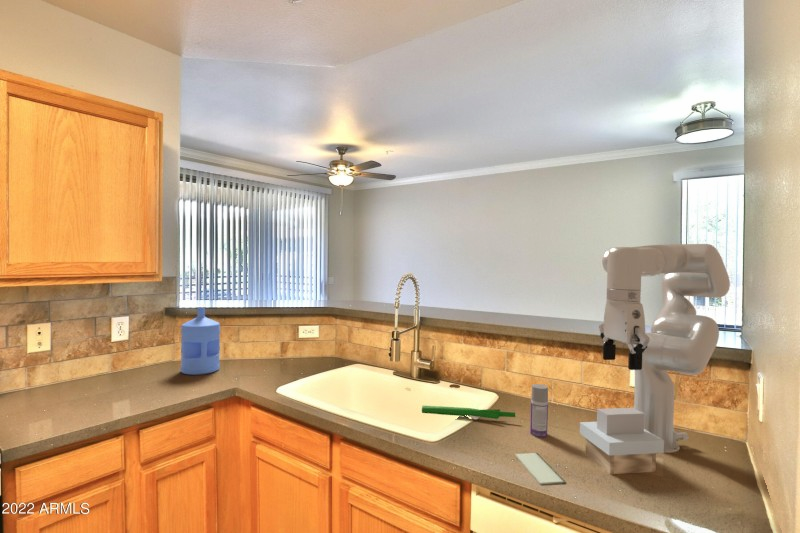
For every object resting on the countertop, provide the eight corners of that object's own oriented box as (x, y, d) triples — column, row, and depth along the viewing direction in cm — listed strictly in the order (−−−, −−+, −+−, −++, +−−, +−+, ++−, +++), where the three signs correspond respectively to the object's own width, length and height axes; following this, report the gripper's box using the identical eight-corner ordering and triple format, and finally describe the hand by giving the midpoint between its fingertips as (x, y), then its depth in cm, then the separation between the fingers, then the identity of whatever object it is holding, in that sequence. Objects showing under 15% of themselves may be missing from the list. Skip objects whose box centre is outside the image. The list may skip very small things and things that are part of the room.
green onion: (421, 417, 136) (515, 423, 127) (421, 407, 136) (515, 413, 127) (424, 412, 140) (515, 418, 132) (424, 402, 140) (515, 408, 132)
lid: (628, 431, 110) (629, 402, 110) (663, 452, 98) (664, 419, 98) (579, 433, 108) (580, 403, 108) (609, 455, 96) (610, 421, 96)
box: (627, 455, 109) (628, 425, 109) (655, 475, 99) (656, 442, 99) (585, 457, 107) (586, 427, 107) (609, 478, 97) (610, 444, 97)
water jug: (177, 369, 184) (178, 307, 184) (214, 364, 194) (215, 305, 193) (184, 377, 172) (184, 311, 171) (223, 371, 181) (224, 308, 181)
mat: (571, 452, 110) (571, 451, 110) (604, 480, 96) (604, 479, 96) (515, 455, 108) (515, 454, 108) (540, 484, 94) (540, 482, 94)
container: (533, 432, 123) (535, 382, 122) (549, 437, 120) (550, 386, 119) (527, 437, 119) (528, 386, 119) (543, 442, 116) (545, 389, 116)
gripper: (663, 299, 94) (661, 373, 95) (614, 293, 112) (612, 356, 112) (633, 299, 93) (631, 374, 94) (589, 293, 111) (587, 356, 111)
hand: (621, 364), depth 103 cm, fingers open, 9 cm apart
